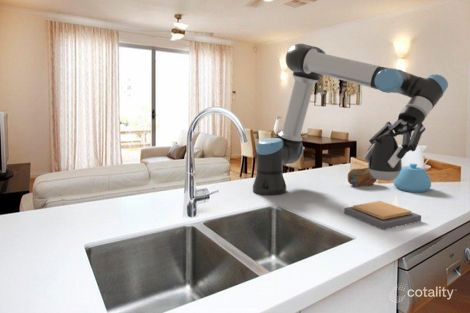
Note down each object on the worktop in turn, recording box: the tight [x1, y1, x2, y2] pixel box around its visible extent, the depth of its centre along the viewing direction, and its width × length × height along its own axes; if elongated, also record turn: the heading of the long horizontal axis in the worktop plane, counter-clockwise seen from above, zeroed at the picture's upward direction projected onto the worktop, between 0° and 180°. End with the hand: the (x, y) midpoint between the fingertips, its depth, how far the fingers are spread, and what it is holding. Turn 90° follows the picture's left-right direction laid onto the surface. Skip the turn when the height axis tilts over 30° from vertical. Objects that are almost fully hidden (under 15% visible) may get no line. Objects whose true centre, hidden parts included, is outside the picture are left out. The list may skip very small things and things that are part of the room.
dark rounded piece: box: [367, 134, 403, 182], centre depth 108 cm, size 10×10×15 cm
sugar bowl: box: [393, 163, 432, 193], centre depth 147 cm, size 15×15×12 cm
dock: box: [343, 206, 422, 230], centre depth 111 cm, size 17×17×2 cm
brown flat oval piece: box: [347, 167, 378, 187], centre depth 155 cm, size 15×3×8 cm, turn 105°
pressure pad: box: [352, 200, 412, 220], centre depth 111 cm, size 13×13×1 cm
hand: (377, 162), depth 107 cm, fingers closed on dark rounded piece, 9 cm apart
